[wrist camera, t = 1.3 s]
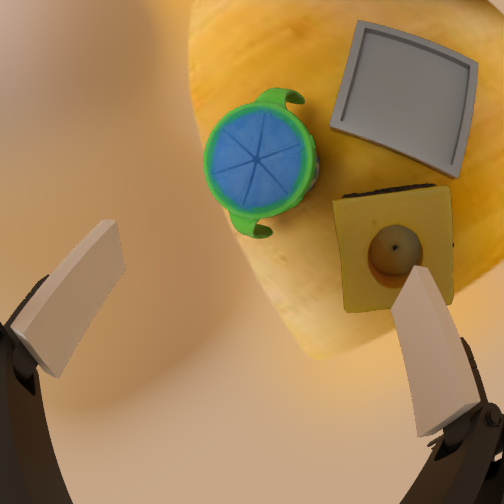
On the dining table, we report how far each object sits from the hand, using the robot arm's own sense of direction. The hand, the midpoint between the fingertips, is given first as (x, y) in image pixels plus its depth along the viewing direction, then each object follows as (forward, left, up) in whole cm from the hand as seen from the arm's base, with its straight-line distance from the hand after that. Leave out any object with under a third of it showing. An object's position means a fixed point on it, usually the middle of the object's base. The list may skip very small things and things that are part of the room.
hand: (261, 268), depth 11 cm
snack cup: (-3, -7, -22) cm, 23 cm away
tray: (-17, +4, -22) cm, 28 cm away
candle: (-1, +7, -22) cm, 23 cm away
